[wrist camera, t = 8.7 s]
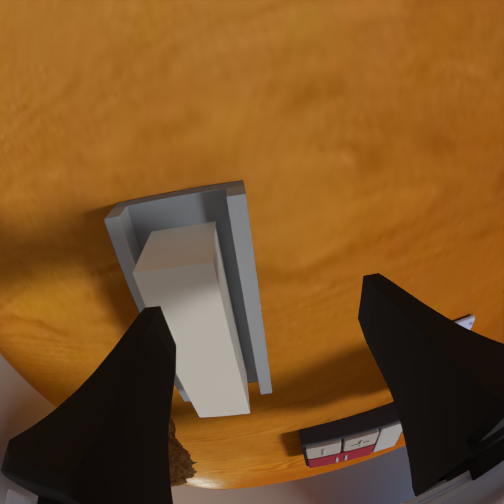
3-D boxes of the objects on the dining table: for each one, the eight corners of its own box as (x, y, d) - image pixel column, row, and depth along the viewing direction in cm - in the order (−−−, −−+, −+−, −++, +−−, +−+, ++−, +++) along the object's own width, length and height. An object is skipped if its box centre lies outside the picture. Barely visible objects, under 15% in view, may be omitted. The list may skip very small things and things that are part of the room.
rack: (268, 371, 26) (272, 393, 24) (185, 380, 26) (184, 401, 24) (243, 180, 17) (245, 194, 15) (117, 203, 17) (103, 219, 15)
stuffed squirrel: (89, 417, 31) (72, 501, 19) (133, 381, 26) (114, 500, 15) (150, 444, 35) (145, 522, 23) (210, 415, 30) (212, 520, 19)
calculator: (301, 450, 31) (411, 421, 30) (298, 423, 35) (402, 396, 34) (306, 470, 37) (397, 447, 35) (303, 448, 40) (390, 427, 39)
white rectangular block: (246, 369, 24) (250, 413, 21) (201, 374, 24) (200, 417, 21) (215, 221, 17) (213, 261, 14) (151, 231, 17) (132, 273, 14)
